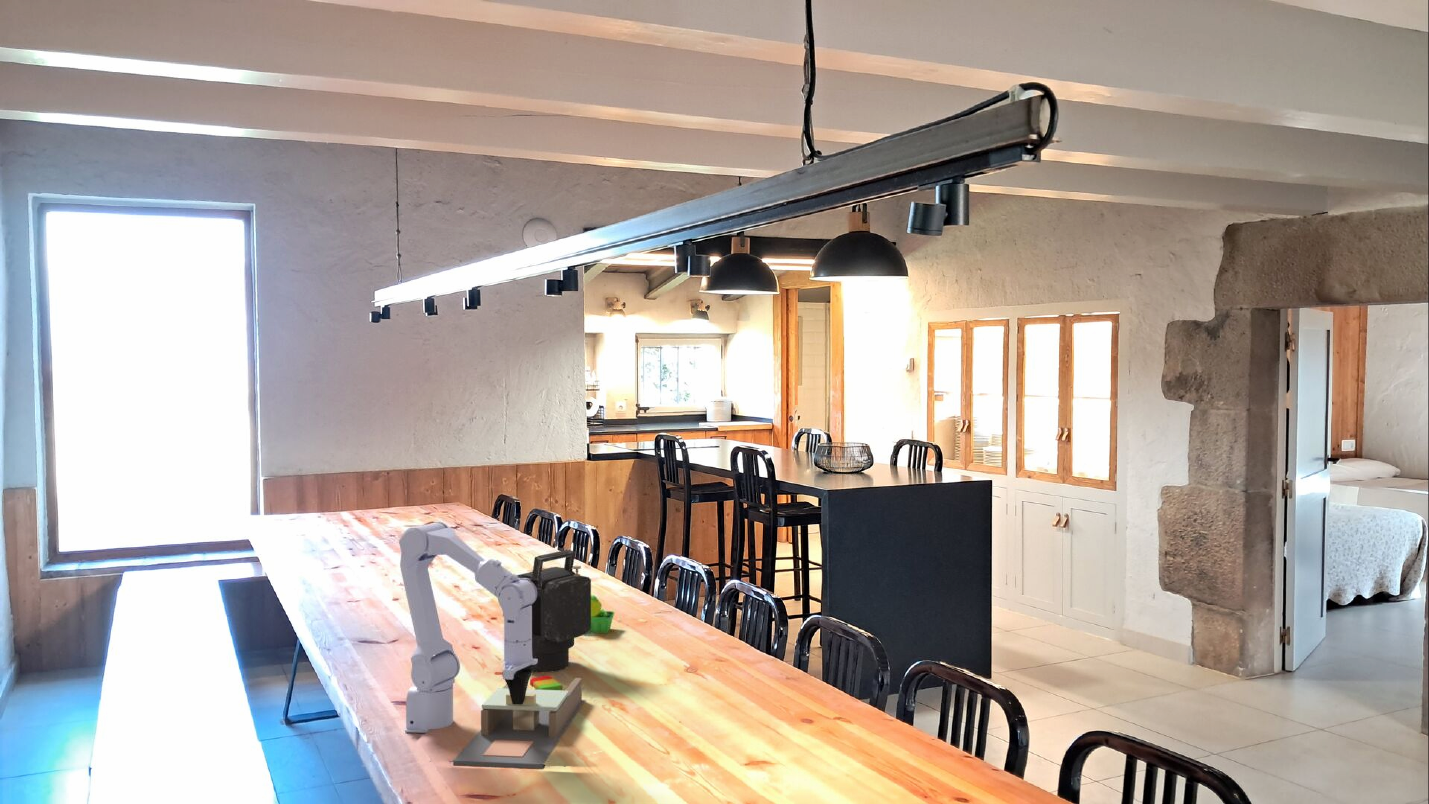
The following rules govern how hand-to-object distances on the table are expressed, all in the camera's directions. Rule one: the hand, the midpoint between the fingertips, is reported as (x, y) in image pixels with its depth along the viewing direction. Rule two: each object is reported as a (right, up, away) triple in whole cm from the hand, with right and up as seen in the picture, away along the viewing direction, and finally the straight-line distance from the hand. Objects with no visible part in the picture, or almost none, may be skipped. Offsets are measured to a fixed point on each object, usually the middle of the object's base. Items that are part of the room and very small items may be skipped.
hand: (518, 703), depth 211 cm
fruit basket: (+5, -5, +88) cm, 89 cm away
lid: (+1, -1, +6) cm, 6 cm away
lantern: (-2, -6, +53) cm, 53 cm away
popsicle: (+1, -8, +33) cm, 34 cm away
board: (+1, -8, +6) cm, 10 cm away
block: (+1, -7, +6) cm, 9 cm away
